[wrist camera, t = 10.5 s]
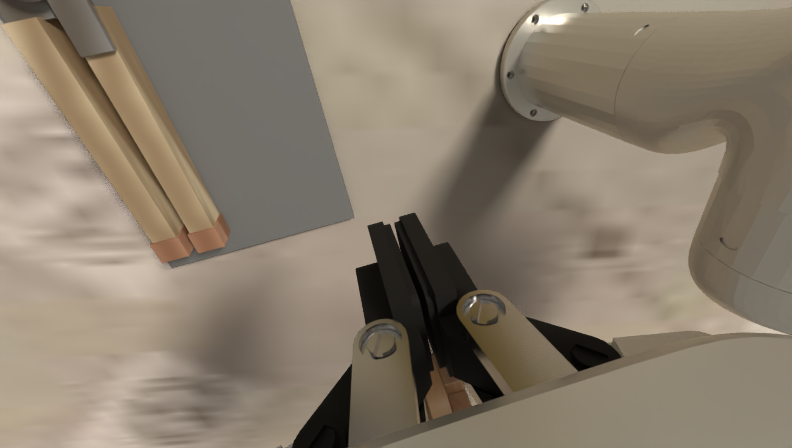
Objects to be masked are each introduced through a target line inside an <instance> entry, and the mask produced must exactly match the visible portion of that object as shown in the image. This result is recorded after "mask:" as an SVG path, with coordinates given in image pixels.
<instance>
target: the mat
mask: <svg viewBox="0 0 792 448" xmlns="http://www.w3.org/2000/svg"><path fill="white" fill-rule="evenodd" d="M92 2H93V4H94V6H111V7H112V8H113V10H114V12H115V14H116V16H117V18H118V20H119V22H120V24H121V26H122V28H123V30H124V31H125V33H126V35H127V37H128V39H129V41H130V43H131V45H132V47H133V49H134V51H135V53H136V54H137V56H138V58H139V60H140V62H141V64H142V66H143V68H144V70H145V72H146V74H147V76H148V77H149V79H150V81H151V83H152V85H153V87H154V89H155V91H156V93H157V95H158V97H159V99H160V101H161V102H162V104H163V106H164V108H165V110H166V112H167V114H168V116H169V118H170V120H171V122H172V124H173V125H174V127H175V129H176V131H177V133H178V135H179V137H180V139H181V141H182V143H183V145H184V147H185V148H186V150H187V152H188V154H189V156H190V158H191V160H192V162H193V164H194V166H195V168H196V170H197V171H198V173H199V175H200V177H201V179H202V181H203V183H204V185H205V187H206V189H207V191H208V193H209V194H210V196H211V198H212V200H213V202H214V204H215V206H216V208H217V210H218V212H219V214H220V213H221V214H222V215H223V217H224V219H225V221H226V223H227V225H228V227H229V229H230V234H229V237H228V240H227V242H226V245H225V247H221V248H217V249H214V250H210V251H206V252H202V253H198V252H197V250H196V249H195V247H194V248H193V250H192V252H191V254H190V256H187V257H184V258H180V259H176V260H173V261H169V262H168V263H169V264H170V266H171V267H172V268H173V267H177V266H180V265H184V264H188V263H191V262H195V261H199V260H202V259H206V258H209V257H213V256H217V255H220V254H224V253H228V252H231V251H235V250H239V249H242V248H246V247H249V246H253V245H257V244H260V243H264V242H268V241H271V240H275V239H279V238H282V237H286V236H289V235H293V234H297V233H300V232H304V231H308V230H311V229H315V228H319V227H322V226H326V225H329V224H333V223H337V222H340V221H344V220H348V219H351V218H354V214H353V211H352V207H351V204H350V201H349V197H348V194H347V191H346V187H345V184H344V180H343V177H342V174H341V170H340V167H339V164H338V160H337V157H336V154H335V150H334V147H333V143H332V140H331V137H330V133H329V130H328V127H327V123H326V120H325V116H324V113H323V110H322V106H321V103H320V100H319V96H318V93H317V90H316V86H315V83H314V79H313V76H312V73H311V69H310V66H309V63H308V59H307V56H306V53H305V49H304V46H303V42H302V39H301V36H300V32H299V29H298V26H297V22H296V19H295V16H294V12H293V9H292V5H291V2H290V0H92ZM0 18H1V20H2V21H3V22H4V24H5V23H7V22H6V20H5V19H4V17H3V16H2V15H1V13H0ZM85 59H86V58H85ZM87 62H88V61H87ZM88 64H89V63H88ZM90 67H91V66H90Z"/></svg>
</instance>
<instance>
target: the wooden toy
mask: <svg viewBox="0 0 792 448" xmlns="http://www.w3.org/2000/svg"><path fill="white" fill-rule="evenodd" d="M431 356H432V361H433V366H434V371H431V372H430V375H431V379H432V386H431V388H430V390H429V392H428V393H427V395H426V400H427V401H426V403H425V405H426V410H427V413H428V417H429V420H432V419H435V418H438V417H441V416H444V415H447V414H450V413H453V412H456V411H459V410H462V409H465V408H469V407H472V405H471V403H470V400H469V398H468V395H467V393H466V391H465V388H464V382H463V381H461V380H459V379H456V378H454V376H453V377H449V374H448V371H447V369H446V367H444V368H441V369H440V368H439V366H438V364H437V361H436V358H435V355H434V353H433V355H431Z"/></svg>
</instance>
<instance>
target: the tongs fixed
mask: <svg viewBox="0 0 792 448" xmlns="http://www.w3.org/2000/svg"><path fill="white" fill-rule="evenodd" d="M0 13H1V15H2V16H3V17H4V19H5V20H6V22H7V23H5V24H1V25H2V26H3V28H4V29H5V31H6V32H7V34H8V35H9V36H10V38H11V39H12V41H13V42H14V44H15V45H16V47H17V48H18V49H19V51H20V52H21V54H22V55H23V57H24V58H25V60H26V61H27V63H28V64H29V65H30V67H31V68H32V70H33V71H34V73H35V74H36V76H37V77H38V78H39V80H40V81H41V83H42V84H43V86H44V87H45V89H46V90H47V91H48V93H49V94H50V96H51V97H52V99H53V100H54V102H55V103H56V104H57V106H58V107H59V109H60V110H61V112H62V113H63V115H64V116H65V117H66V119H67V120H68V122H69V123H70V125H71V126H72V128H73V129H74V130H75V132H76V133H77V135H78V136H79V138H80V139H81V141H82V142H83V144H84V145H85V146H86V148H87V149H88V151H89V152H90V154H91V155H92V157H93V158H94V159H95V161H96V162H97V164H98V165H99V167H100V168H101V170H102V171H103V172H104V174H105V175H106V177H107V178H108V180H109V181H110V183H111V184H112V185H113V187H114V188H115V190H116V191H117V193H118V194H119V196H120V197H121V198H122V200H123V201H124V203H125V204H126V206H127V207H128V209H129V210H130V211H131V213H132V214H133V216H134V217H135V219H136V220H137V222H138V223H139V224H140V226H141V227H142V229H143V230H144V232H145V233H146V235H147V236H148V238H149V239H150V240H151V242H152V243H151V244H150V246H151V247H152V249H153V250H154V252H155V253H156V255H157V256H158V257H159V259H160V260H161V262H162V263H165V262H169V261H173V260H176V259H180V258H184V257H187V256H190V254H191V252H192V250H193V248H194V245H193V244H192V242H191V240H190V239H189V237H188V233H189V231H188V230H187V228H186V226H185V224H184V223H183V221H182V219H181V218H180V216H179V214H178V213H177V211H176V209H175V208H174V206H173V204H172V203H171V201H170V199H169V198H168V196H167V194H166V193H165V191H164V189H163V187H162V186H161V184H160V182H159V181H158V179H157V177H156V176H155V174H154V172H153V171H152V169H151V167H150V166H149V164H148V162H147V161H146V159H145V157H144V156H143V154H142V152H141V151H140V149H139V147H138V145H137V144H136V142H135V140H134V139H133V137H132V135H131V134H130V132H129V130H128V129H127V127H126V125H125V124H124V122H123V120H122V119H121V117H120V115H119V114H118V112H117V110H116V108H115V107H114V105H113V103H112V102H111V100H110V98H109V97H108V95H107V93H106V92H105V90H104V88H103V87H102V85H101V83H100V82H99V80H98V78H97V77H96V75H95V73H94V72H93V70H92V68H91V67H90V65H89V64H88V62H87V60H86V59H85V57H81V56H80V54H79V53H78V51H77V49H76V48H75V46H74V44H73V43H72V41H71V39H70V38H69V36H68V35H67V33H66V31H65V30H64V28H63V26H62V25H61V23H60V21H59V20H58V18H57V16H56V15H55V13H54V11H53V10H52V8H51V6H50V5H49V3H48V1H44V2H38V3H34V2H21V1H17V0H0Z"/></svg>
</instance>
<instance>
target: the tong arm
mask: <svg viewBox="0 0 792 448" xmlns="http://www.w3.org/2000/svg"><path fill="white" fill-rule="evenodd" d="M17 1H21V2H34V3H38V2H44V1H48V3H49V5H50V6H51V8H52V10H53V11H54V13H55V15H56V16H57V18H58V20H59V21H60V23H61V25H62V26H63V28H64V30H65V31H66V33H67V35H68V36H69V38H70V39H71V41H72V43H73V44H74V46H75V48H76V49H77V51H78V53H79V54H80V56H81V57H85V58H86V60H87V61H88V63H89V65H90V66H91V68H92V70H93V72H94V73H95V75H96V77H97V78H98V80H99V82H100V83H101V85H102V87H103V88H104V90H105V92H106V93H107V95H108V97H109V98H110V100H111V102H112V103H113V105H114V107H115V108H116V110H117V112H118V114H119V115H120V117H121V119H122V120H123V122H124V124H125V125H126V127H127V129H128V130H129V132H130V134H131V135H132V137H133V139H134V140H135V142H136V144H137V145H138V147H139V149H140V151H141V152H142V154H143V156H144V157H145V159H146V161H147V162H148V164H149V166H150V167H151V169H152V171H153V172H154V174H155V176H156V177H157V179H158V181H159V182H160V184H161V186H162V187H163V189H164V191H165V193H166V194H167V196H168V198H169V199H170V201H171V203H172V204H173V206H174V208H175V209H176V211H177V213H178V214H179V216H180V218H181V219H182V221H183V223H184V224H185V226H186V228H187V230H188V231H189V233H188V237H189V239H190V240H191V242H192V244H193V245H194V247H195V249H196V250H197V252H198V253H202V252H206V251H210V250H214V249H217V248H221V247H225V245H226V242H227V240H228V237H229V234H230V229H229V227H228V225H227V223H226V221H225V219H224V217H223V215H222V214H221V213H220V214H219V212H218V210H217V208H216V206H215V204H214V202H213V200H212V198H211V196H210V194H209V193H208V191H207V189H206V187H205V185H204V183H203V181H202V179H201V177H200V175H199V173H198V171H197V170H196V168H195V166H194V164H193V162H192V160H191V158H190V156H189V154H188V152H187V150H186V148H185V147H184V145H183V143H182V141H181V139H180V137H179V135H178V133H177V131H176V129H175V127H174V125H173V124H172V122H171V120H170V118H169V116H168V114H167V112H166V110H165V108H164V106H163V104H162V102H161V101H160V99H159V97H158V95H157V93H156V91H155V89H154V87H153V85H152V83H151V81H150V79H149V77H148V76H147V74H146V72H145V70H144V68H143V66H142V64H141V62H140V60H139V58H138V56H137V54H136V53H135V51H134V49H133V47H132V45H131V43H130V41H129V39H128V37H127V35H126V33H125V31H124V30H123V28H122V26H121V24H120V22H119V20H118V18H117V16H116V14H115V12H114V10H113V8H112V7H111V6H94V4H93V2H92V0H17Z"/></svg>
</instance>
